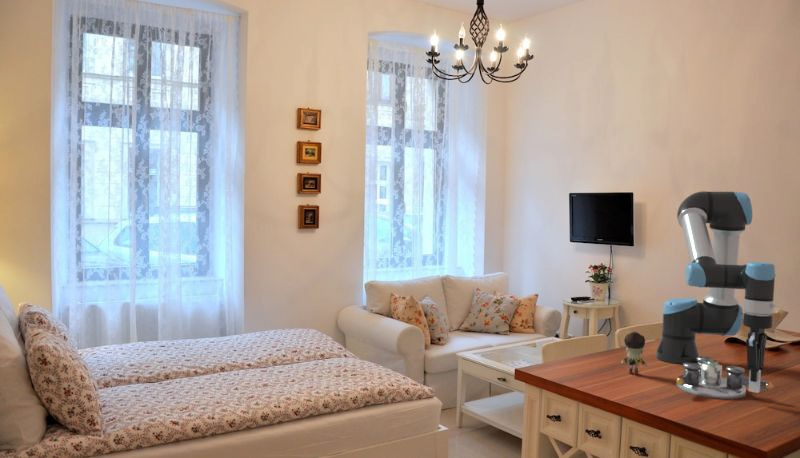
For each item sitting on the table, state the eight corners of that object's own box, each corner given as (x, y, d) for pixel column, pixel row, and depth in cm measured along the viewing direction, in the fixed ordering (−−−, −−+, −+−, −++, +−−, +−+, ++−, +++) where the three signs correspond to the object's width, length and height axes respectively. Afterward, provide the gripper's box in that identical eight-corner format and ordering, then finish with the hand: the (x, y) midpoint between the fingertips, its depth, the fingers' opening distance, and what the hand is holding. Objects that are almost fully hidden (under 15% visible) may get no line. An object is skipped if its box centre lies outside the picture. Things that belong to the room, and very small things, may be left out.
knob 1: (685, 379, 205) (686, 361, 205) (702, 382, 202) (703, 364, 201) (669, 387, 196) (670, 369, 195) (687, 391, 192) (688, 372, 192)
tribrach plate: (667, 388, 203) (668, 361, 203) (689, 376, 217) (690, 351, 217) (734, 403, 189) (735, 374, 189) (753, 389, 203) (755, 363, 203)
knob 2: (709, 378, 207) (710, 361, 206) (693, 375, 210) (694, 358, 210) (723, 371, 216) (724, 354, 216) (707, 368, 220) (708, 351, 219)
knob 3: (722, 386, 198) (723, 368, 198) (728, 383, 202) (729, 365, 202) (770, 396, 189) (771, 377, 189) (775, 392, 193) (776, 373, 192)
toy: (647, 372, 221) (649, 330, 220) (646, 378, 214) (648, 334, 213) (621, 369, 225) (622, 327, 224) (619, 374, 218) (620, 331, 217)
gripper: (766, 318, 181) (761, 399, 182) (778, 313, 190) (774, 389, 192) (737, 314, 186) (733, 393, 187) (750, 309, 196) (746, 384, 197)
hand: (754, 391), depth 189 cm, fingers closed
